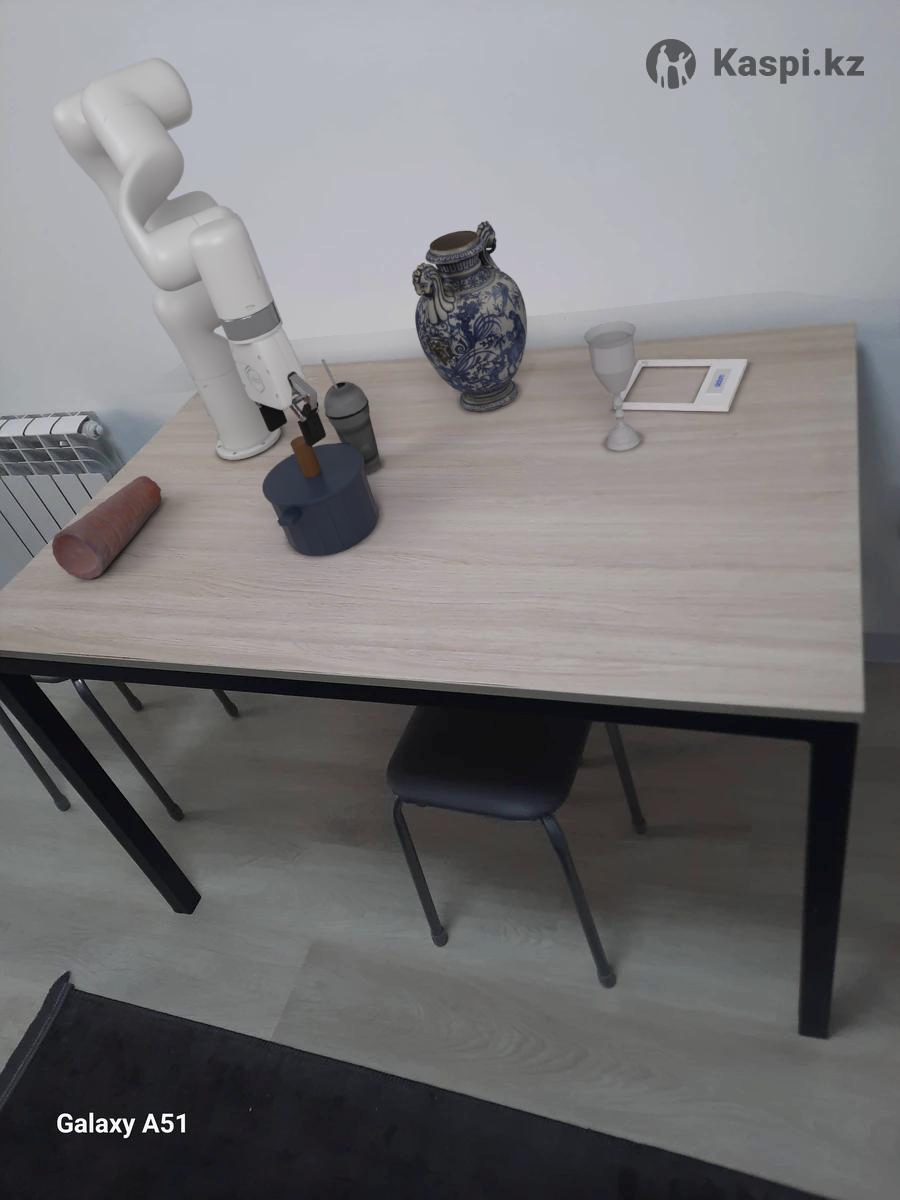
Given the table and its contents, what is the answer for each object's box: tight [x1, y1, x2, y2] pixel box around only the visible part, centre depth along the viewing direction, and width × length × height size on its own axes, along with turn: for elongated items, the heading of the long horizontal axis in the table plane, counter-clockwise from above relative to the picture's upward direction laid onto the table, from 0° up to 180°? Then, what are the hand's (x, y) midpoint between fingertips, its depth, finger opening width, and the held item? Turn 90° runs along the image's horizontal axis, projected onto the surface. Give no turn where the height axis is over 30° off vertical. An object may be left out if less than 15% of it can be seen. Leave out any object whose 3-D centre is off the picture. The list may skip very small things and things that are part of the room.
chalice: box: [583, 320, 641, 452], centre depth 126 cm, size 7×7×18 cm
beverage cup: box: [321, 358, 382, 475], centre depth 138 cm, size 7×7×20 cm
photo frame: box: [613, 358, 748, 413], centre depth 139 cm, size 15×1×18 cm
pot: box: [270, 442, 380, 557], centre depth 130 cm, size 15×20×10 cm
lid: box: [261, 435, 364, 507], centre depth 126 cm, size 16×16×7 cm
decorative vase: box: [411, 220, 528, 413], centre depth 144 cm, size 21×19×28 cm
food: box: [51, 475, 162, 580], centre depth 143 cm, size 21×9×9 cm, turn 165°
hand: (297, 434), depth 122 cm, fingers open, 9 cm apart
